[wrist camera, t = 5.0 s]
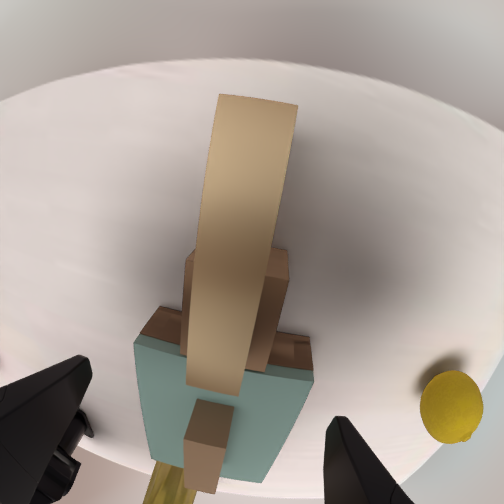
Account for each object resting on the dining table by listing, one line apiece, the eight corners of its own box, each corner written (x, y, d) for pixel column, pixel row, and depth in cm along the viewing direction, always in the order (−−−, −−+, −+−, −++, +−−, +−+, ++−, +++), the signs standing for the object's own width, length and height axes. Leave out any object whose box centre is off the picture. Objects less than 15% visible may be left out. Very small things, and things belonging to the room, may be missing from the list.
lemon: (403, 401, 21) (426, 467, 14) (418, 359, 19) (453, 429, 12) (449, 390, 20) (477, 447, 13) (466, 348, 19) (507, 406, 11)
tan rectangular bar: (245, 357, 15) (238, 396, 12) (200, 347, 15) (185, 384, 12) (293, 118, 11) (298, 105, 8) (233, 108, 11) (219, 93, 8)
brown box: (264, 448, 25) (261, 482, 21) (163, 427, 25) (151, 457, 21) (333, 259, 17) (348, 291, 13) (163, 226, 18) (131, 247, 14)
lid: (262, 469, 22) (258, 511, 17) (156, 445, 23) (140, 485, 18) (312, 362, 17) (318, 427, 12) (144, 327, 17) (107, 379, 12)
